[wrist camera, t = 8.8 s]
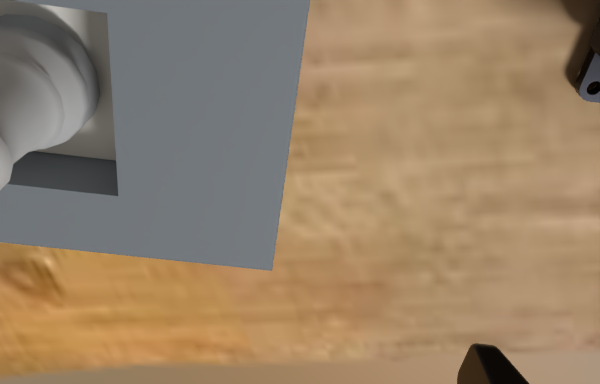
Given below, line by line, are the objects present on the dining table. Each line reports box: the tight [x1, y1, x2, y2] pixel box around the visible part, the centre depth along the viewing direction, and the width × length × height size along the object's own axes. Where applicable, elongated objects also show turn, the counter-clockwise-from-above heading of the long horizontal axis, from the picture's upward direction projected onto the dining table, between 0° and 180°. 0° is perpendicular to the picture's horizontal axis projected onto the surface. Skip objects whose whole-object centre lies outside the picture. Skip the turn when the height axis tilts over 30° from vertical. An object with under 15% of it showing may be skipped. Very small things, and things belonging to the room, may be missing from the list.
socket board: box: [0, 0, 310, 271], centre depth 19 cm, size 18×12×2 cm, turn 82°
